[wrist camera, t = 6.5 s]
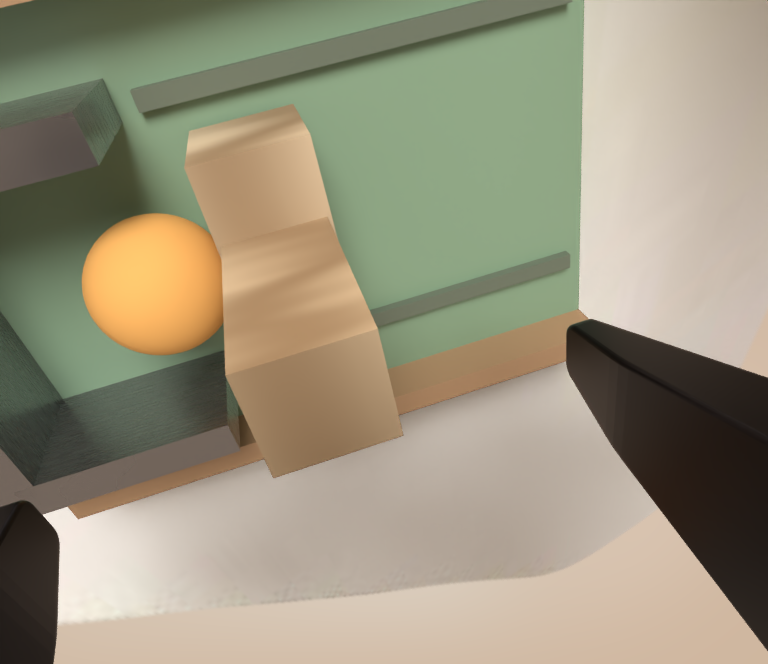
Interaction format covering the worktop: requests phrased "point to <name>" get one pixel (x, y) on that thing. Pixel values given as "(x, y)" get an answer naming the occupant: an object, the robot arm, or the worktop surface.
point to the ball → (155, 284)
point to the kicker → (289, 295)
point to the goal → (109, 403)
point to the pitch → (337, 167)
